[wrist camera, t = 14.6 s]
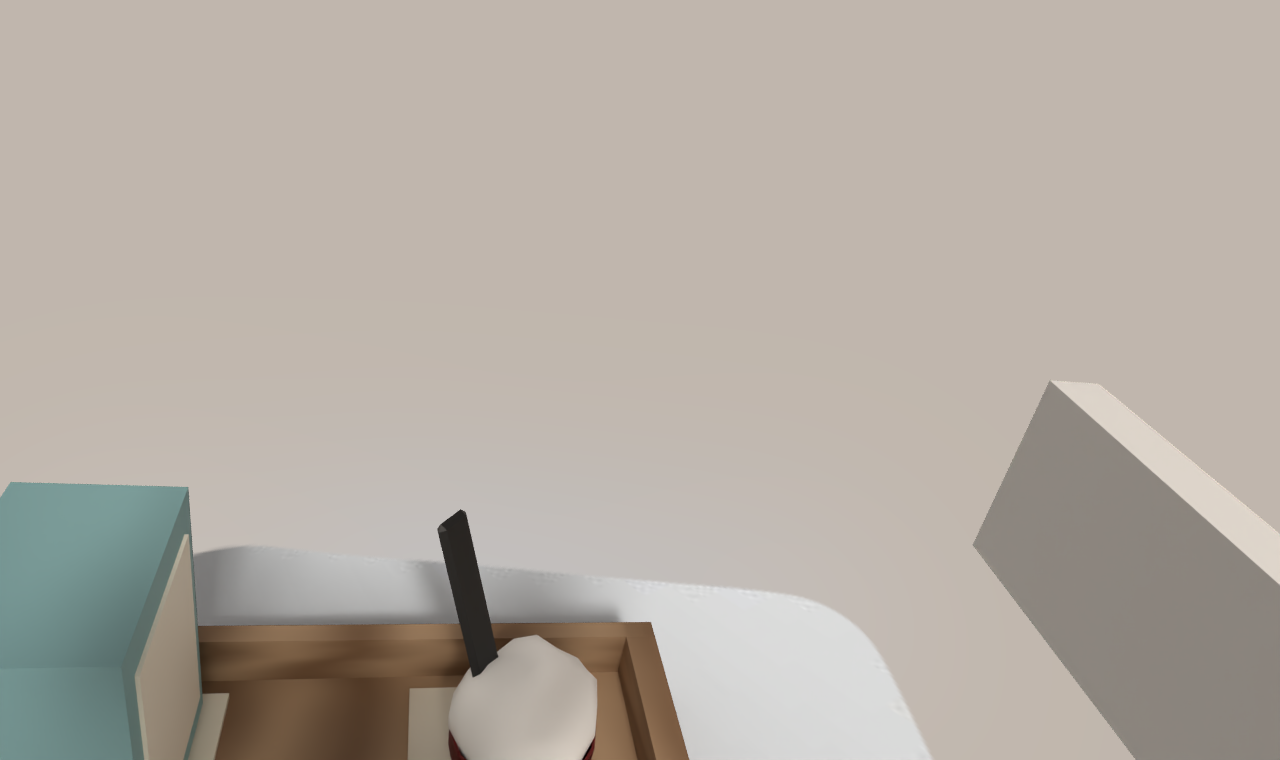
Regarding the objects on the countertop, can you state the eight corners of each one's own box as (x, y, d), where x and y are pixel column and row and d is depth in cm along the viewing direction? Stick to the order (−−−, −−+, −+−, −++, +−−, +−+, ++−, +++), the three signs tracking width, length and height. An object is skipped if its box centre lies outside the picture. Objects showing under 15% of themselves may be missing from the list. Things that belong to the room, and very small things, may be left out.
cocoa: (622, 822, 40) (695, 626, 34) (501, 898, 36) (561, 689, 30) (506, 671, 45) (552, 481, 40) (390, 721, 41) (423, 517, 36)
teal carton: (-40, 915, 32) (-113, 671, 26) (51, 706, 39) (10, 482, 34) (155, 899, 33) (126, 666, 28) (206, 702, 41) (192, 487, 35)
